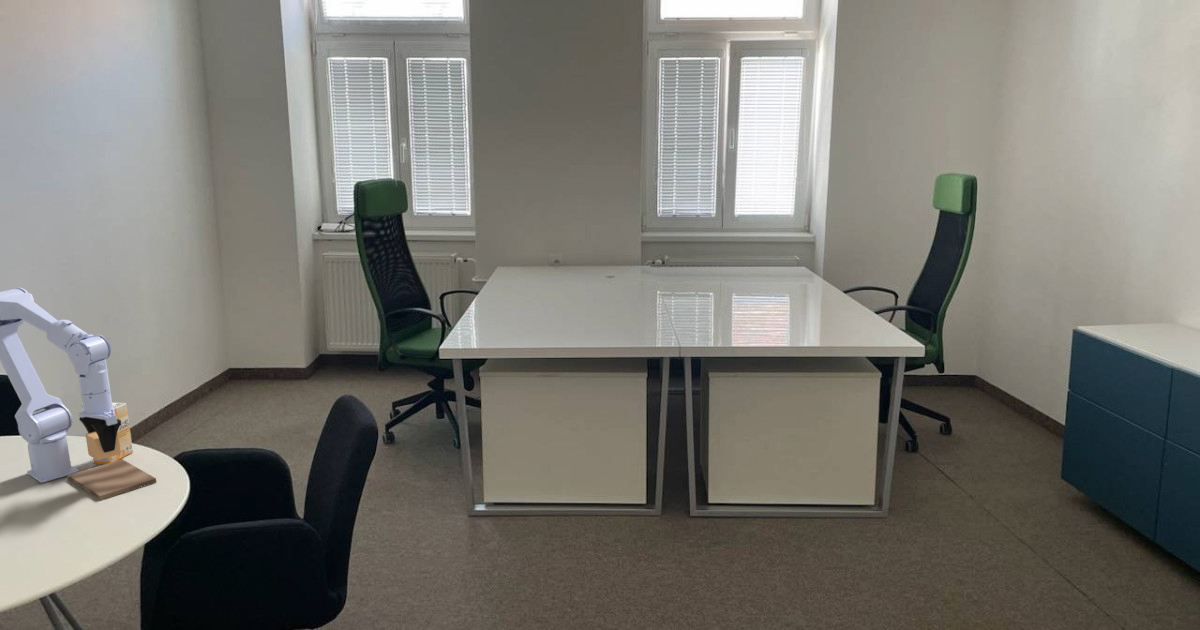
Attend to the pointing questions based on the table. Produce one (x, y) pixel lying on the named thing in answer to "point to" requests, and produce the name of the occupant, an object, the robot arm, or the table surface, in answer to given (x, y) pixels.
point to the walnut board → (111, 479)
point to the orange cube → (100, 447)
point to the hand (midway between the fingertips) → (104, 448)
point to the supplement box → (120, 434)
